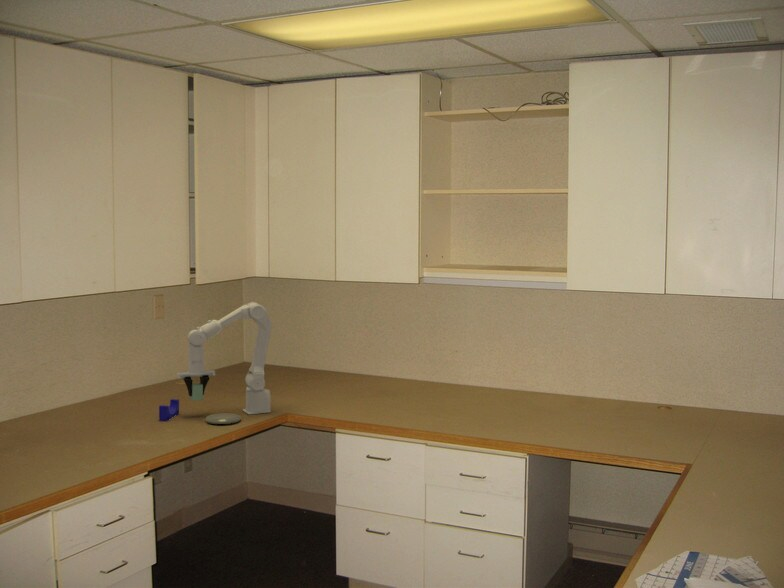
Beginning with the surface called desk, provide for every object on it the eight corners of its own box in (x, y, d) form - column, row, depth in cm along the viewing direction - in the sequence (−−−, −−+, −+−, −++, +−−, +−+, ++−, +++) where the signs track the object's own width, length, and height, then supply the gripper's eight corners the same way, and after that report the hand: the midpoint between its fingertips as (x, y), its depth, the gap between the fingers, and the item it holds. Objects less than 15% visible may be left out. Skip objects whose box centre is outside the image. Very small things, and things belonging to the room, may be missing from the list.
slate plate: (234, 415, 315) (234, 411, 315) (245, 423, 304) (245, 419, 304) (201, 419, 309) (201, 415, 309) (211, 427, 298) (211, 423, 298)
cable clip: (168, 413, 317) (168, 398, 317) (179, 414, 317) (179, 399, 316) (155, 421, 305) (155, 405, 305) (166, 421, 305) (166, 406, 304)
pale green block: (199, 397, 315) (199, 382, 315) (202, 399, 312) (202, 384, 311) (189, 398, 313) (189, 383, 313) (192, 400, 310) (192, 385, 309)
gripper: (211, 357, 318) (211, 391, 320) (174, 360, 311) (175, 394, 312) (216, 360, 312) (216, 395, 314) (179, 363, 305) (179, 398, 306)
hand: (196, 395), depth 313 cm, fingers closed on pale green block, 4 cm apart
